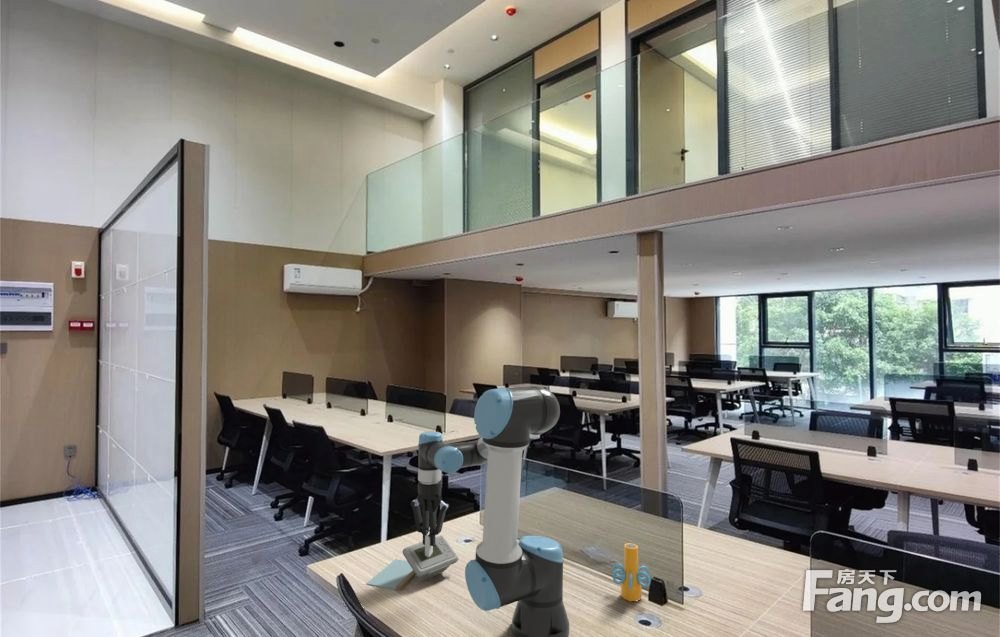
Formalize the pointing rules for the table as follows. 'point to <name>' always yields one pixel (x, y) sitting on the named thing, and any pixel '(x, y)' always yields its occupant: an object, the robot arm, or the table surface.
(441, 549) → the digital clock
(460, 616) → the table surface
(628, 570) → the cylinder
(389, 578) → the mat
